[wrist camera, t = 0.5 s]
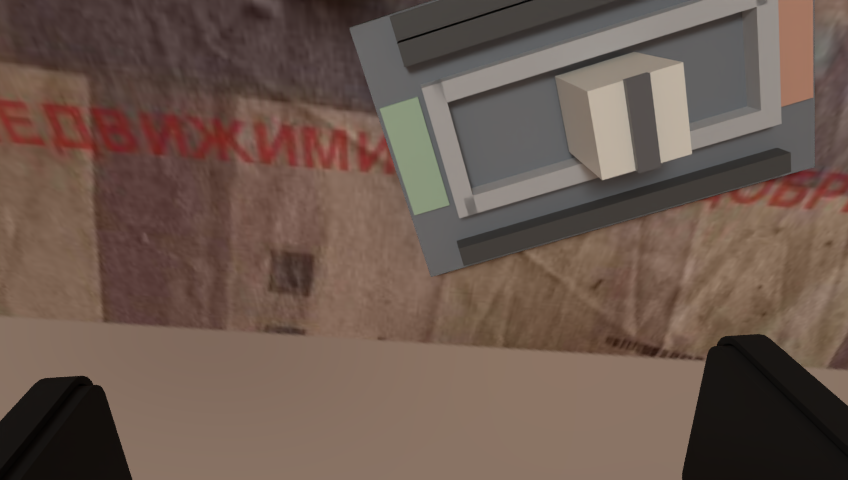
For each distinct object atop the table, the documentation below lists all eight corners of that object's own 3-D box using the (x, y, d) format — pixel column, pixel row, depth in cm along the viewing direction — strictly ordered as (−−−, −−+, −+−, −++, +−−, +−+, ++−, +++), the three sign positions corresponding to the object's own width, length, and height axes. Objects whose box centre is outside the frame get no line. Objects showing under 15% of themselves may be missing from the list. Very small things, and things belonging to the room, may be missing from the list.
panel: (785, -114, 26) (833, -128, 24) (790, 157, 32) (830, 173, 29) (352, 26, 28) (347, 29, 25) (429, 261, 34) (432, 286, 31)
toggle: (633, 50, 27) (686, 61, 22) (644, 130, 29) (695, 156, 24) (554, 75, 27) (589, 91, 22) (569, 152, 29) (604, 183, 24)
